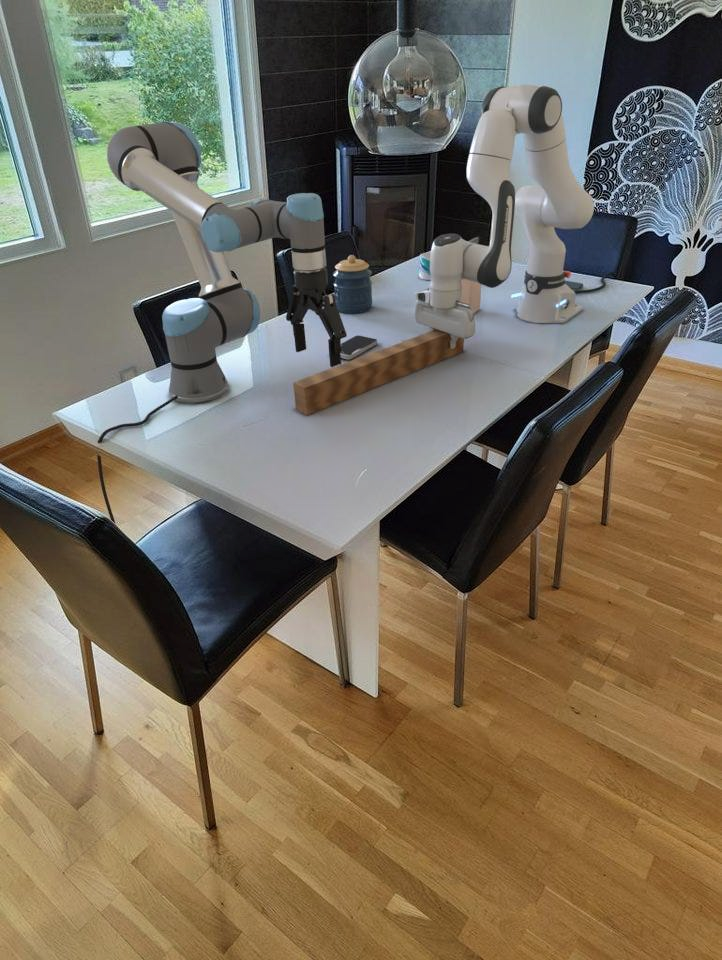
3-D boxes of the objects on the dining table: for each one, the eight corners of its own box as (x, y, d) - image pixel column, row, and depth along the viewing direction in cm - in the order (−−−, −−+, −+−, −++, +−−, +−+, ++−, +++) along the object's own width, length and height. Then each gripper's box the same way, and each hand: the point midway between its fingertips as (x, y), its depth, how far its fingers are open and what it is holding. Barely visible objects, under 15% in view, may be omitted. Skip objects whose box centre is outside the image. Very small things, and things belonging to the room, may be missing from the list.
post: (306, 415, 164) (304, 388, 160) (295, 409, 167) (293, 382, 163) (463, 351, 195) (464, 327, 191) (451, 347, 198) (452, 323, 194)
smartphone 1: (378, 339, 201) (349, 356, 191) (378, 343, 202) (349, 360, 191) (357, 335, 205) (327, 351, 195) (357, 339, 206) (328, 355, 195)
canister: (340, 315, 224) (337, 262, 214) (330, 304, 234) (327, 252, 224) (377, 311, 226) (376, 257, 217) (366, 299, 237) (364, 248, 227)
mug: (415, 278, 257) (415, 256, 252) (430, 270, 265) (430, 248, 261) (434, 281, 253) (435, 258, 248) (448, 272, 261) (449, 250, 257)
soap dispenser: (469, 317, 218) (472, 247, 206) (445, 313, 222) (447, 244, 210) (485, 305, 227) (489, 238, 215) (462, 302, 231) (465, 236, 219)
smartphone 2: (577, 289, 235) (536, 281, 242) (576, 293, 236) (535, 286, 243) (584, 283, 240) (544, 276, 247) (583, 287, 241) (543, 280, 248)
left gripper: (359, 274, 144) (363, 366, 156) (291, 256, 161) (299, 340, 172) (331, 282, 140) (338, 376, 152) (265, 262, 157) (275, 348, 168)
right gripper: (482, 302, 179) (478, 351, 186) (427, 287, 192) (426, 333, 200) (466, 308, 175) (463, 358, 183) (411, 292, 189) (411, 338, 196)
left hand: (317, 357), depth 162 cm, fingers open, 13 cm apart
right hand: (443, 345), depth 191 cm, fingers closed on post, 4 cm apart
